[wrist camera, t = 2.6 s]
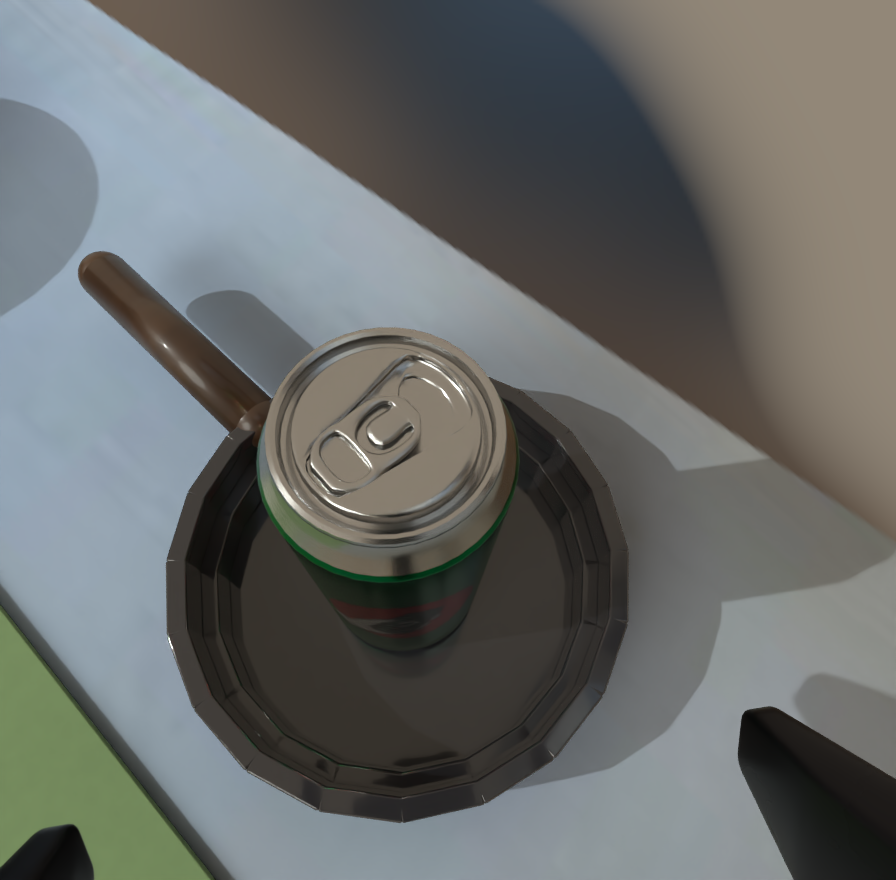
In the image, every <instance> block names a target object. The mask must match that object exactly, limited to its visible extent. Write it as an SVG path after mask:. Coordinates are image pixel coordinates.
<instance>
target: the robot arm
mask: <svg viewBox="0 0 896 880" xmlns="http://www.w3.org/2000/svg"><path fill="white" fill-rule="evenodd" d="M738 761H739V765H740V768H741V771H742V773H743V775H744V777H745V780H746V782H747V784H748V786H749V788H750V790H751V792H752V794H753V796H754V798H755V800H756V803H757V805H758V807H759V809H760V811H761V813H762V815H763V817H764V819H765V821H766V823H767V825H768V828H769V830H770V832H771V834H772V836H773V838H774V840H775V842H776V844H777V846H778V848H779V850H780V853H781V855H782V857H783V859H784V861H785V863H786V865H787V867H788V869H789V871H790V873H791V875H792V877H793V879H794V880H896V779H895V778H893V777H891V776H890V775H888V774H886V773H885V772H883V771H881V770H880V769H878V768H876V767H875V766H873V765H871V764H870V763H868V762H866V761H865V760H863V759H861V758H860V757H858V756H856V755H855V754H853V753H851V752H850V751H848V750H846V749H845V748H843V747H841V746H840V745H838V744H836V743H835V742H833V741H831V740H829V739H828V738H826V737H824V736H823V735H821V734H819V733H818V732H816V731H814V730H813V729H811V728H809V727H808V726H806V725H804V724H803V723H801V722H799V721H798V720H796V719H794V718H793V717H791V716H789V715H788V714H786V713H784V712H783V711H781V710H779V709H777V708H775V707H770V706H768V707H761V708H756V709H750V710H747V711H745V712H744V714H743V715H742V719H741V728H740V737H739V746H738ZM0 880H94V868H93V864H92V862H91V859H90V856H89V854H88V851H87V849H86V846H85V844H84V841H83V839H82V836H81V834H80V831H79V829H78V827H76V826H75V825H73V824H64V825H58V826H52V827H47V828H43V829H40V830H39V831H37V832H36V833H34V834H33V835H32V836H31V837H30V838H29V839H28V840H27V841H26V842H25V843H24V844H23V845H22V846H21V847H20V848H19V849H18V850H17V851H16V852H15V853H14V854H13V855H12V856H11V857H10V858H9V859H8V860H7V861H6V862H5V863H4V864H3V865H2V866H1V867H0Z"/></svg>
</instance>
